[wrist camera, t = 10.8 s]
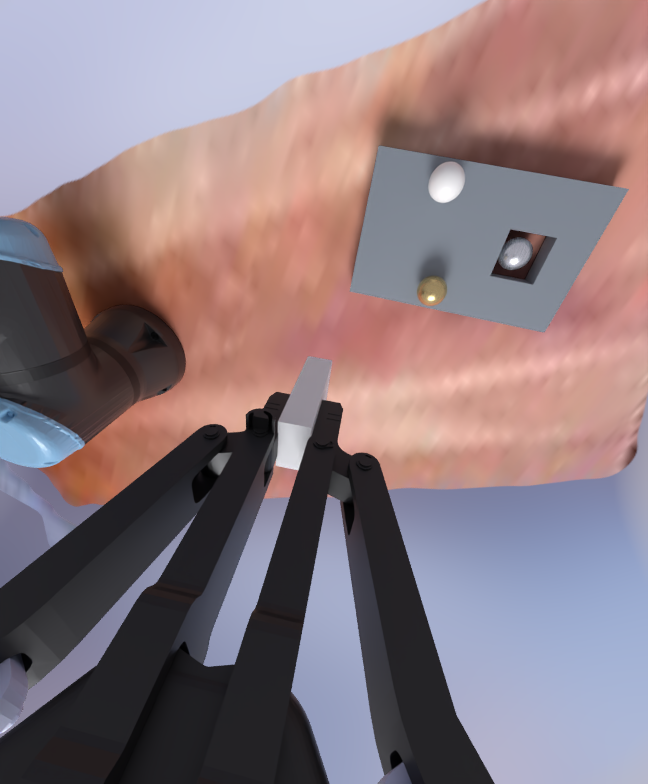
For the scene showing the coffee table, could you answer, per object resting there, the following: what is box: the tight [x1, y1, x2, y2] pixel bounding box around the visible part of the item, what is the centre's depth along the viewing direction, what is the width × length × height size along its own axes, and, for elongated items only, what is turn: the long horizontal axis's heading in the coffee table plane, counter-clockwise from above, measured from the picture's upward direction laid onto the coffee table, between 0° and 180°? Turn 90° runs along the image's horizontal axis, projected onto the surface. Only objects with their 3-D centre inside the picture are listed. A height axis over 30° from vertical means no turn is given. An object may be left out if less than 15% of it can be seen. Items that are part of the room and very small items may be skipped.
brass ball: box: [417, 276, 447, 306], centre depth 34 cm, size 3×3×3 cm
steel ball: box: [498, 237, 533, 270], centre depth 33 cm, size 3×3×3 cm
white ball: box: [428, 162, 465, 203], centre depth 29 cm, size 3×3×3 cm
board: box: [350, 146, 629, 332], centre depth 34 cm, size 23×14×2 cm, turn 81°
